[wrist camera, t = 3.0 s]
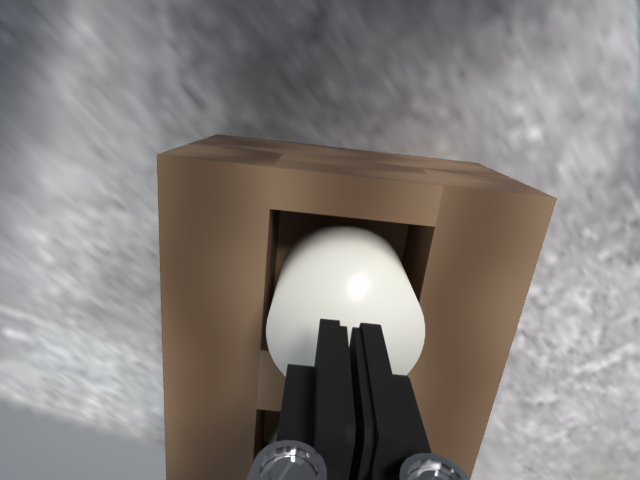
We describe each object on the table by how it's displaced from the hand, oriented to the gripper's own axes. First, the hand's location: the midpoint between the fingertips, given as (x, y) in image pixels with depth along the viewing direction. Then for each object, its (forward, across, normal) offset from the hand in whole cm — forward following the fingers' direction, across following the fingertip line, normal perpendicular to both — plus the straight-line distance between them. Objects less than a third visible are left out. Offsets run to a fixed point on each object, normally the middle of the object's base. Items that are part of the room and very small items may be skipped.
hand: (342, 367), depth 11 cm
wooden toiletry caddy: (+13, 0, +5) cm, 13 cm away
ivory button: (+6, 0, 0) cm, 6 cm away
